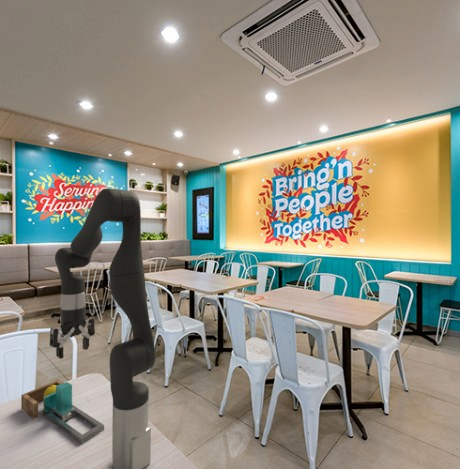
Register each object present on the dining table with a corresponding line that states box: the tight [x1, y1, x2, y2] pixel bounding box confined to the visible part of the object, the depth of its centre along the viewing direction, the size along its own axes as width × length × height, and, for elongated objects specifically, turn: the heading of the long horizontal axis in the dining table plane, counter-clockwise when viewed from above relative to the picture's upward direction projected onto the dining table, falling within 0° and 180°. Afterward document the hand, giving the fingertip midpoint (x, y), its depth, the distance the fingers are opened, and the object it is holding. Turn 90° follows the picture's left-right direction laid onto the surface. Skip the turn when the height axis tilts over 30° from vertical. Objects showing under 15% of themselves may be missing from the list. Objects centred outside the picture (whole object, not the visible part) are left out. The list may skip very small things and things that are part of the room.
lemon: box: [43, 385, 56, 403], centre depth 102 cm, size 6×6×8 cm
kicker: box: [43, 381, 76, 422], centre depth 98 cm, size 8×8×10 cm
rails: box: [41, 404, 105, 445], centre depth 95 cm, size 24×7×2 cm, turn 57°
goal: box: [20, 379, 64, 420], centre depth 103 cm, size 9×12×5 cm
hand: (73, 353), depth 99 cm, fingers open, 8 cm apart
